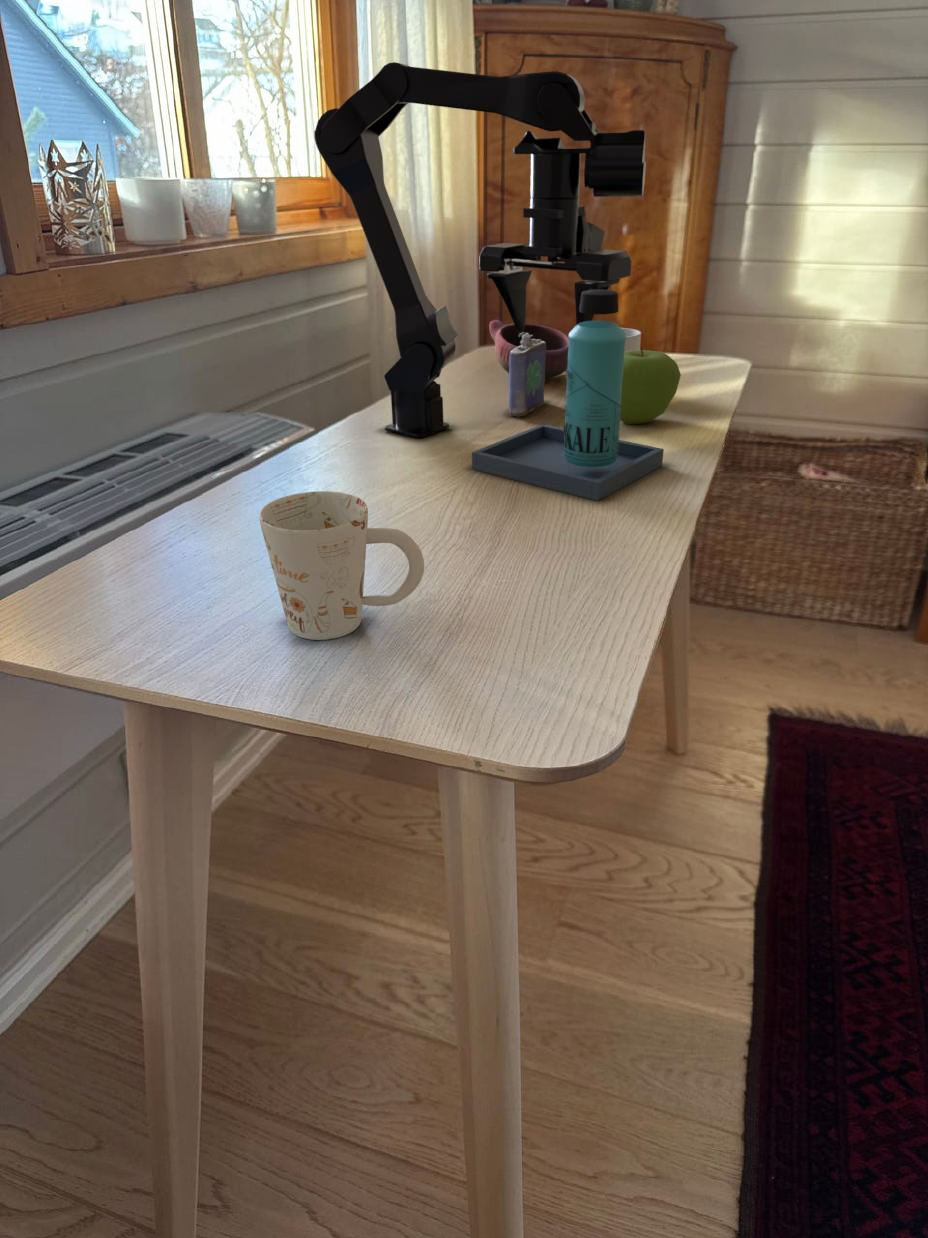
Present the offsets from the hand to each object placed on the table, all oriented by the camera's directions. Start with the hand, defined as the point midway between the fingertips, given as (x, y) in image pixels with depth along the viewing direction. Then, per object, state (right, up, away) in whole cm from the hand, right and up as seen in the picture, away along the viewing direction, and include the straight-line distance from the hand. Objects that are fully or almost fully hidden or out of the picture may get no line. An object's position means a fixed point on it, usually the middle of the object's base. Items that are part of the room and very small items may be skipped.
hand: (550, 334), depth 112 cm
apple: (+13, -8, +12) cm, 19 cm away
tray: (+1, -17, -5) cm, 18 cm away
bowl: (-1, +4, +34) cm, 35 cm away
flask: (-2, -5, +18) cm, 19 cm away
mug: (-20, -36, -38) cm, 56 cm away
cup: (+11, -1, +26) cm, 28 cm away
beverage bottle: (+4, -19, -8) cm, 21 cm away
